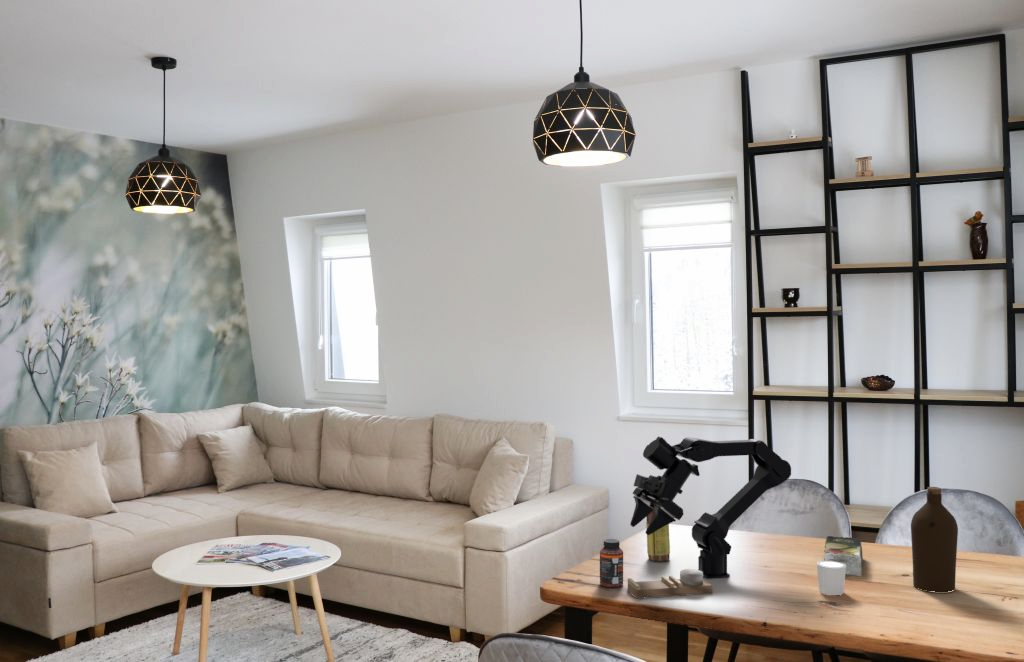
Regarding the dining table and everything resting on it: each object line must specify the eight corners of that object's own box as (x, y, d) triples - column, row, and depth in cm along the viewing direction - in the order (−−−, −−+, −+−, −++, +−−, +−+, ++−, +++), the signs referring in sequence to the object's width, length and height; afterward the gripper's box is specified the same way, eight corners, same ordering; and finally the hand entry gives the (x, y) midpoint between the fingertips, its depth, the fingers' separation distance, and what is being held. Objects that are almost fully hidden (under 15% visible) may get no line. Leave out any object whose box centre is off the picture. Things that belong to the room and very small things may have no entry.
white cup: (832, 598, 212) (832, 569, 212) (810, 590, 218) (810, 562, 218) (852, 594, 215) (852, 565, 215) (830, 586, 221) (830, 558, 221)
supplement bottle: (622, 589, 220) (622, 543, 219) (598, 587, 221) (598, 542, 221) (624, 582, 225) (624, 538, 225) (600, 580, 227) (600, 537, 226)
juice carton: (863, 578, 229) (863, 554, 229) (823, 574, 232) (823, 551, 232) (862, 559, 247) (861, 537, 247) (825, 556, 251) (824, 535, 251)
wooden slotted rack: (701, 585, 222) (701, 567, 222) (712, 593, 216) (712, 575, 216) (627, 590, 218) (627, 572, 218) (636, 598, 212) (636, 579, 212)
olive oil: (966, 594, 214) (966, 492, 214) (922, 594, 214) (922, 492, 214) (945, 581, 225) (945, 483, 224) (903, 581, 225) (903, 484, 225)
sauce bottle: (673, 558, 247) (673, 488, 247) (664, 563, 242) (664, 491, 242) (651, 555, 251) (651, 485, 251) (642, 560, 246) (642, 489, 245)
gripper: (635, 456, 235) (602, 505, 233) (666, 467, 217) (631, 520, 215) (665, 480, 238) (632, 528, 235) (698, 493, 220) (664, 545, 217)
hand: (639, 529), depth 226 cm, fingers open, 9 cm apart
